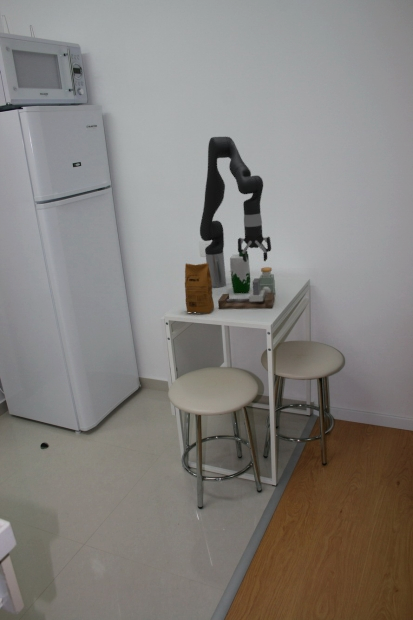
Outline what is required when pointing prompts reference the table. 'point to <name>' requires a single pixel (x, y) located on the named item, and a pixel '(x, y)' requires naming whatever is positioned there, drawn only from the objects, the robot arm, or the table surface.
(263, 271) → the button
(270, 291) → the cabinet
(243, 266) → the milk carton
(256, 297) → the carriage
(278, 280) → the table surface
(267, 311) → the table surface
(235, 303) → the rail bed
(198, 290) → the coffee package
